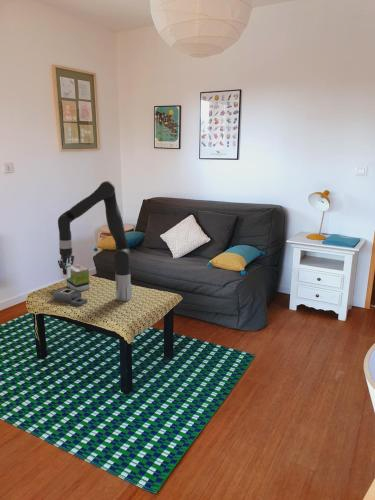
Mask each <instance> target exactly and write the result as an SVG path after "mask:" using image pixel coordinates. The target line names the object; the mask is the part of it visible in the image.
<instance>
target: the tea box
mask: <svg viewBox="0 0 375 500" xmlns="http://www.w3.org/2000/svg"><path fill="white" fill-rule="evenodd" d="M65 280H66V286H67V288H69V289H75V290H80V291H81V292H84V291H88V290H90V271H89V268H87V267H85V266H83V265H82V264H79V263H76V264H73V265H71V277H70V278H68V279H67V278H65Z"/></svg>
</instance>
